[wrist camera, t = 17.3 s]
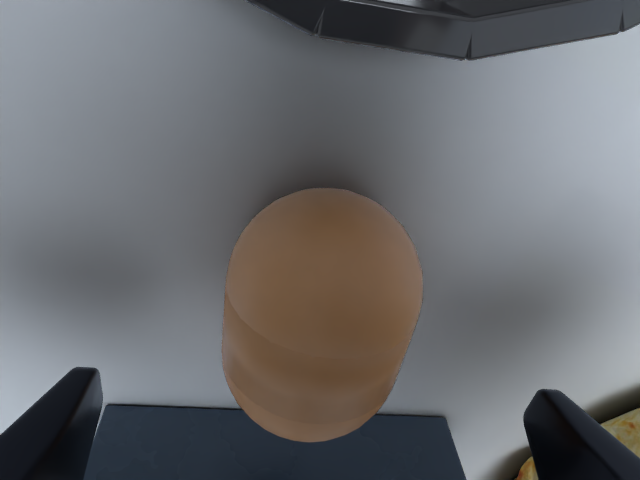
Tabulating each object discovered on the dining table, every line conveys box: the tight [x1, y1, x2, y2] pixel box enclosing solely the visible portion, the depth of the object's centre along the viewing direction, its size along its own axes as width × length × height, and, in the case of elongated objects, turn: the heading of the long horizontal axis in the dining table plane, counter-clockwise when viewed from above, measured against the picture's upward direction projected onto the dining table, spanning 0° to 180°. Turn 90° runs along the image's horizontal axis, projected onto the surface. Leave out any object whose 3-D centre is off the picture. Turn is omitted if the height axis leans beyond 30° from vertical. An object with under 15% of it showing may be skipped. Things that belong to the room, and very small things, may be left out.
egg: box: [222, 188, 423, 442], centre depth 11 cm, size 4×6×4 cm
